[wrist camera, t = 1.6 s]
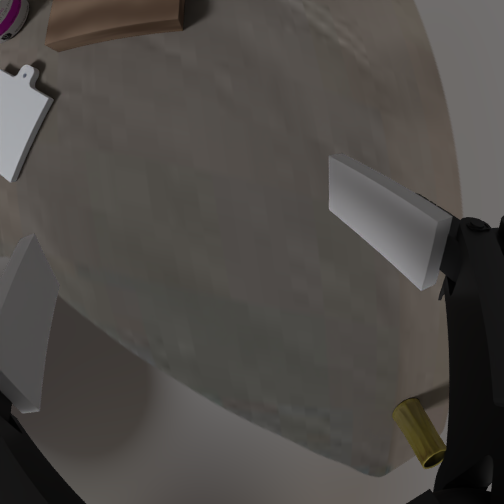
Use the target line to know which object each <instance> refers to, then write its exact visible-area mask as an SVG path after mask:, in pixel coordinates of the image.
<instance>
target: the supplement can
mask: <svg viewBox="0 0 504 504" xmlns="http://www.w3.org/2000/svg"><path fill="white" fill-rule="evenodd" d="M28 12H29V3H28V2H27V0H0V43H3V42H5V41H7V40H9V39H10V38H12V37H13V36H14V35H15V34H16V33H17V32H18V31H19V30H20V29H21V28H22V26H23V24H24V23H25V21H26V18H27V15H28Z"/></svg>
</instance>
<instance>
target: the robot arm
mask: <svg viewBox="0 0 504 504" xmlns="http://www.w3.org/2000/svg"><path fill="white" fill-rule="evenodd" d="M329 210H330V211H331V212H332V213H334V214H335V215H336V216H337V217H339V218H340V219H341V220H342V221H343V222H344V223H346V224H347V225H348V226H349V227H350V228H352V229H353V230H354V231H355V232H356V233H357V234H359V235H360V236H361V237H362V238H363V239H364V240H366V241H367V242H368V243H369V244H370V245H371V246H372V247H374V248H375V249H376V250H377V251H378V252H379V253H380V254H382V255H383V256H384V257H385V258H386V259H387V260H388V261H389V262H390V263H392V264H393V265H394V266H395V267H396V268H397V269H398V270H399V271H400V272H401V273H402V274H404V275H405V276H406V277H407V278H408V279H409V280H410V281H411V282H412V283H413V284H414V285H415V286H416V287H418V288H419V289H420V290H421V291H422V290H424V289H426V288H428V287H430V286H432V285H434V284H436V281H437V277H438V274H439V270H441V271H442V272H443V273H444V274H445V275H446V276H445V279H444V282H443V285H442V289H441V292H440V295H439V299H438V300H441V299H442V296H443V295H444V294H445V302H446V312H447V325H448V341H449V417H448V433H447V446H446V452H445V456H444V459H443V461H442V463H441V465H440V467H439V469H438V472H437V475H436V480H435V484H434V490H433V492H432V491H431V490H430V489H429V490H427V491H426V492H424V493H423V494H421V495H419V496H418V497H416V498H415V499H413V500H411V501H410V502H408V503H406V504H504V216H503V217H502V218H501V222H500V226H499V228H491V227H490V226H489V225H488V224H487V223H485V222H484V221H481V220H480V219H477V218H471V217H466V218H462V219H461V220H459V219H458V218H456V217H455V216H453V215H452V214H450V213H449V212H447V211H446V210H444V209H442V208H441V207H439V206H436V204H434V203H433V202H431V201H429V200H428V199H426V198H425V197H423V196H421V195H420V194H417V193H414V192H413V191H411V190H409V189H408V188H406V187H404V186H402V185H401V184H399V183H397V182H395V181H394V180H392V179H390V178H388V177H387V176H385V175H383V174H381V173H379V172H378V171H376V170H374V169H372V168H370V167H368V166H366V165H365V164H363V163H361V162H359V161H357V160H355V159H353V158H351V157H349V156H347V155H345V154H343V153H341V154H335V155H330V156H329ZM59 286H60V284H59V283H58V281H57V279H56V277H55V275H54V273H53V271H52V269H51V267H50V265H49V263H48V261H47V259H46V257H45V255H44V253H43V250H42V248H41V246H40V244H39V242H38V240H37V237H36V235H35V233H34V234H31V235H29V236H26V237H23V238H21V239H20V241H19V242H18V244H17V246H16V248H15V250H14V252H13V254H12V256H11V258H10V260H9V262H8V264H7V266H6V268H5V270H4V272H3V274H2V276H1V278H0V504H86V503H85V502H84V501H83V500H82V499H81V498H80V497H79V496H78V495H77V494H76V493H75V492H74V490H72V488H71V487H70V486H69V485H68V484H67V483H66V482H65V481H64V479H63V478H62V477H61V476H60V475H59V474H58V472H57V471H56V470H55V469H54V468H53V467H52V465H51V464H50V463H49V462H48V460H47V459H46V458H45V457H44V456H43V454H42V453H41V452H40V450H39V449H38V448H37V446H36V445H35V444H34V442H33V441H32V440H31V438H30V437H29V435H28V434H27V433H26V431H25V430H24V428H23V427H22V425H21V424H20V423H19V421H18V420H17V418H16V417H15V416H13V415H12V414H11V406H12V404H13V405H14V406H15V407H16V408H18V410H20V411H21V412H22V413H29V412H36V411H40V403H41V392H42V381H43V374H44V366H45V359H46V352H47V345H48V340H49V334H50V328H51V323H52V318H53V313H54V308H55V303H56V299H57V295H58V290H59ZM491 483H492V489H491V492H489V491H486V490H487V488H488V486H489V485H490V484H491Z"/></svg>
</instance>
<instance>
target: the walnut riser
mask: <svg viewBox="0 0 504 504" xmlns="http://www.w3.org/2000/svg"><path fill="white" fill-rule="evenodd" d="M184 8H185V0H53V3H52V8H51V13H50V18H49V23H48V28H47V34H46V40H45V45H46V46H48V47H50V48H52V49H53V50H55V51H57V52H61V51H65V50H68V49H72V48H76V47H80V46H85V45H89V44H94V43H99V42H104V41H109V40H114V39H120V38H126V37H132V36H139V35H146V34H155V33H164V32H174V31H183V21H184Z"/></svg>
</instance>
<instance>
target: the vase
mask: <svg viewBox="0 0 504 504" xmlns="http://www.w3.org/2000/svg"><path fill="white" fill-rule="evenodd" d="M393 419H394V420H395V421H396V423H397V425H398V426H399V428H400V429H401V431H402V432H403V434H404V435H405V437H406V439H407V440H408V442H409V444H410V445H411V447H412V449H413V451H414V453H415V454H416V456H417V458H418V460H419V461H420V463H421V465H422V466H423V468H424V469H429V468H432V467H435V466H436V465H438V464H439V463H441V462H442V461H443V459H444V456H445V452H446V445H445V444H444V442H443V441H442V439H441V438H440V436H439V435H438V433H437V431H436V429H435V428H434V426H433V424H432V422H431V421H430V419H429V417H428V415H427V414H426V412H425V411H424V409H423V407H422V406H421V404H420V401H419V400H418V399H415V398H411V399H407V400H405V401H403V402H402V403H400V404H399V405H398V406H397V407H396V408H395V410H394V412H393Z"/></svg>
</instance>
